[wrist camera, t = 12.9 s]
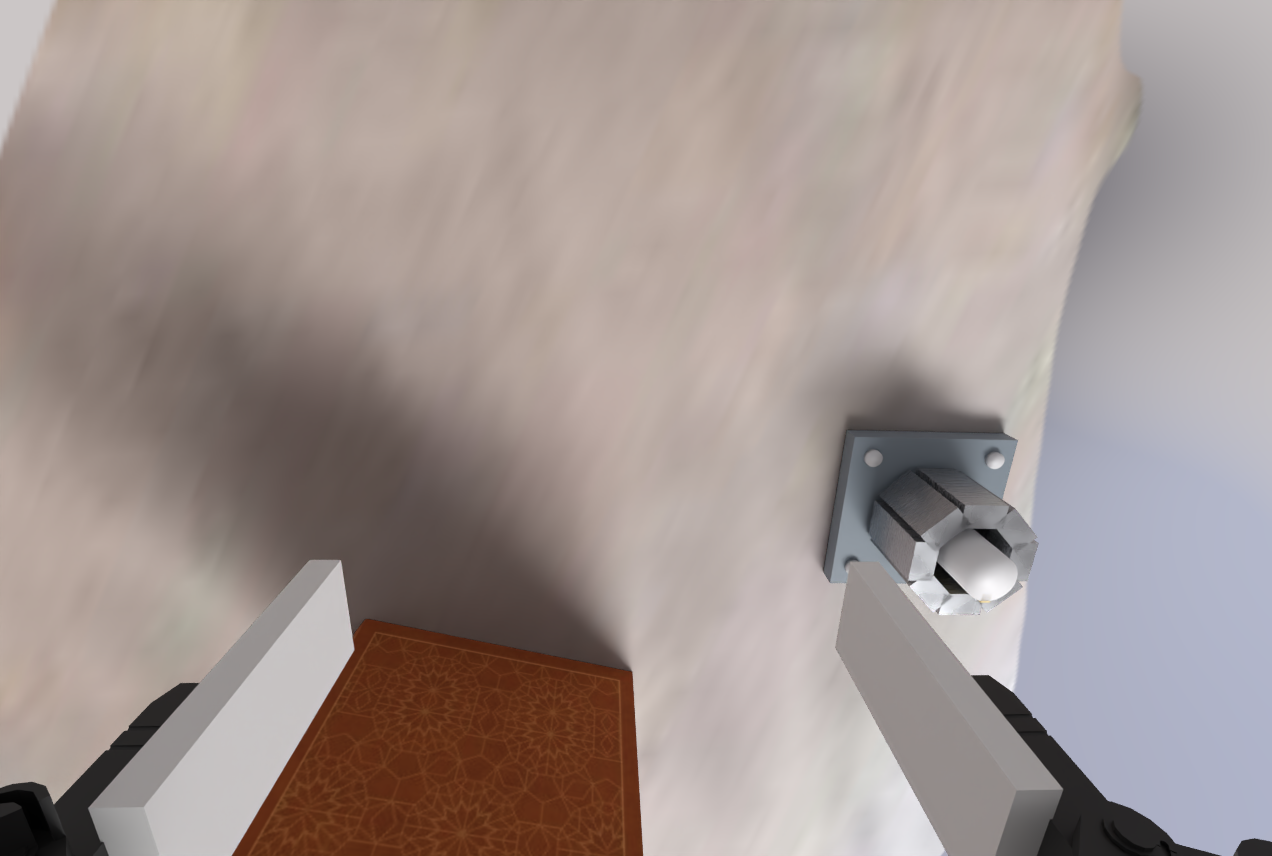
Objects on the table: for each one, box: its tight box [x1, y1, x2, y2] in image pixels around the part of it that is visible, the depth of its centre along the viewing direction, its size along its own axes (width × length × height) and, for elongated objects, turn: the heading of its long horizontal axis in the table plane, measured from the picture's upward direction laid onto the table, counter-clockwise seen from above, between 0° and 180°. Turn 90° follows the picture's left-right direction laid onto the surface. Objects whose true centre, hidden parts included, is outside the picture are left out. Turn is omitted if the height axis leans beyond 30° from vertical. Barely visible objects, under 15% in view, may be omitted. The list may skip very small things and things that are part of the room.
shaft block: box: [824, 430, 1018, 603], centre depth 40 cm, size 12×12×10 cm
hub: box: [869, 468, 1038, 615], centre depth 40 cm, size 8×8×6 cm
